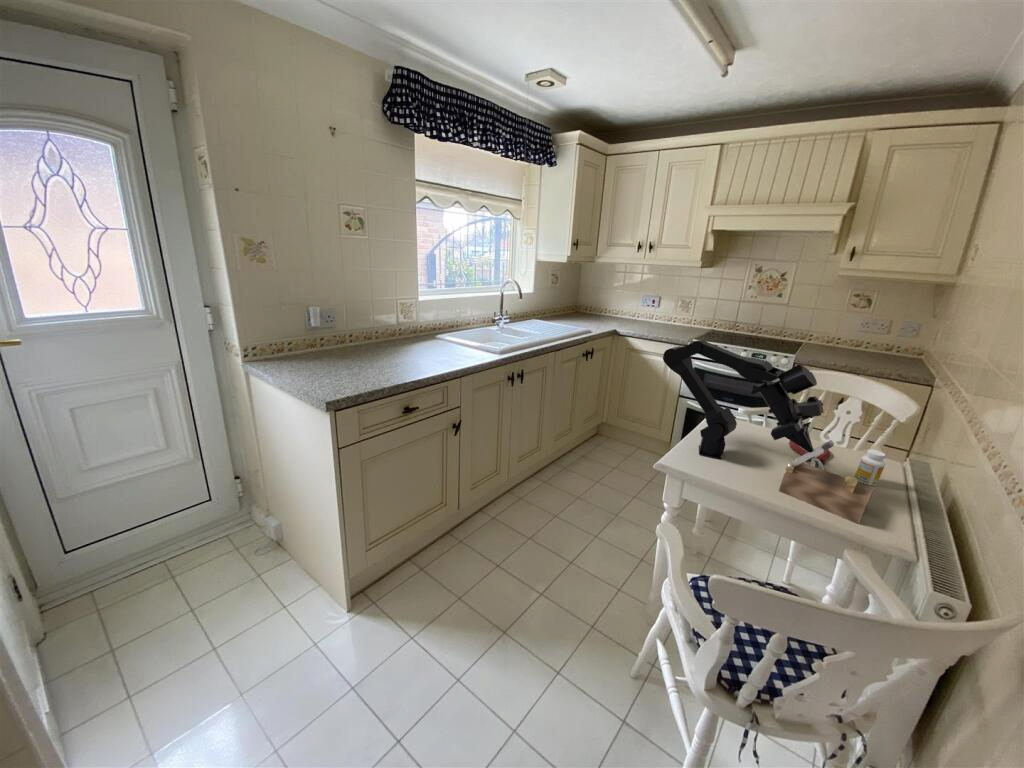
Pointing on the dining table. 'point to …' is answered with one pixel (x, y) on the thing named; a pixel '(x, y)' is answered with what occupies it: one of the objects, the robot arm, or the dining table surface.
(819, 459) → the pliers
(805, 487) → the storage box
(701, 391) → the robot arm
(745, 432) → the dining table surface
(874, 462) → the supplement bottle
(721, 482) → the dining table surface
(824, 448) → the latch lever
